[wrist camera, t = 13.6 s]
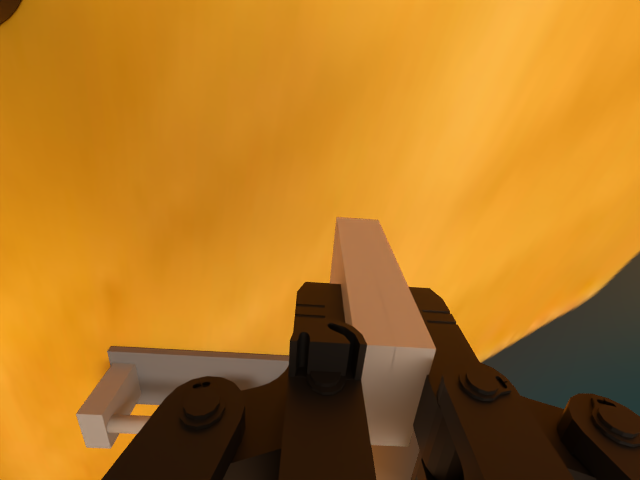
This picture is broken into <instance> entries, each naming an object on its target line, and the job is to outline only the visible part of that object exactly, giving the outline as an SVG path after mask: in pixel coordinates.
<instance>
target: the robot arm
mask: <svg viewBox="0 0 640 480" xmlns="http://www.w3.org/2000/svg"><path fill="white" fill-rule="evenodd" d="M20 1H21V0H0V24H1V23H2V22H4V21H5V20H6V19H7V18H9V17H10V16H11V14H12V13H13V12H14V11H15V9H16V8H17V6H18V5H19V3H20ZM413 430H414V431H415V434H416V438H417V441H418V445H419V449H420V451H419V454H418V457H417V461H416V464H415V467H414V471H413V474H412V477H411V480H640V416H638V415H637V414H635V413H634V412H632V411H631V410H630V409H628V408H627V407H625V406H623V405H621V404H619V403H617V402H615V401H612V400H610V399H609V398H605V397H602V396H598V395H595V394H577V395H575V396H573V397H571V398H570V400H569V401H568V403H567V405H566V407H565V409H561V408H558V407H555V406H551V405H548V404H544V403H541V402H538V401H535V400H532V399H528V398H525V397H522V396H520V395H519V393H518V392H517V390H516V389H515V387H514V386H513V385H512V384H511V383H510V381H509V380H508V379H507V378H506V377H505V376H503V375H502V374H501V373H499V372H498V371H496V370H495V369H494V368H492V367H489V366H487V365H485V364H482V363H480V362H479V361H478V359H477V357H476V355H475V354H474V352H473V350H472V349H471V347H470V345H469V343H468V342H467V340H466V338H465V337H464V335H463V333H462V331H461V330H460V328H459V326H458V325H456V321H455V319H454V318H453V316H452V314H450V311H449V309H448V307H447V306H446V304H445V302H444V301H443V299H442V298H441V297H439V296H438V295H437V294H436V293H435V292H433V291H432V290H431V289H430V288H416V287H408V285H407V283H406V281H405V278H404V276H403V274H402V272H401V269H400V267H399V265H398V263H397V261H396V258H395V256H394V254H393V252H392V249H391V247H390V245H389V243H388V241H387V238H386V236H385V234H384V232H383V229H382V227H381V225H380V223H379V221H378V220H371V219H357V218H343V217H337V219H336V228H335V238H334V248H333V257H332V267H331V276H330V283H315V282H305V283H304V284H303V286H302V287H301V288H300V289H299V290H298V291H297V299H296V310H295V321H294V331H293V335H292V337H291V340H290V352H289V365H288V367H287V369H286V370H285V372H284V373H282V374H281V375H280V376H279V377H278V378H277V379H275V380H273V381H272V382H270V383H268V384H265V385H262V386H259V387H255V388H250V389H246V390H240V389H239V388H238V386H237V385H236V384H235V383H234V382H232V381H230V380H227V379H225V378H223V377H214V376H205V377H201V378H196V379H192V380H190V381H188V382H186V383H184V384H182V385H180V386H178V387H177V388H176V389H175V390H174V391H173V392H171V393H170V394H169V395H168V396H167V397H166V398H165V399H164V401H163V402H162V403H161V404H160V406H159V407H158V408H157V410H156V411H155V412H154V413H153V415H152V416H151V417H150V418H149V420H148V421H147V422H146V423H145V425H144V426H143V427H142V429H141V430H140V431H139V432H138V434H137V435H136V436H135V437H134V439H133V440H132V441H131V443H130V444H129V445H128V446H127V448H126V449H125V450H124V451H123V453H122V454H121V455H120V457H119V458H118V459H117V460H116V462H115V463H114V464H113V465H112V467H111V468H110V469H109V471H108V472H107V473H106V474H105V476H104V477H103V478H102V479H101V480H376V475H375V468H374V461H373V455H372V448H371V445H388V446H409V444H410V441H411V437H412V434H413Z"/></svg>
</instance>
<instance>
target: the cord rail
mask: <svg viewBox="0 0 640 480" xmlns="http://www.w3.org/2000/svg"><path fill="white" fill-rule="evenodd" d="M107 352H108V356H109V361H110V365H111V367H110V368H109V369H108V371H107V372H106V374H105V375H104V376H103V378H102V379H101V380H100V382H99V383H98V385H97V386H96V387H95V389H94V390H93V391H92V393H91V394H90V395H89V397H88V398H87V400H86V401H85V402H84V404H83V405H82V406H81V408H80V409H79V411H78V412H77V413H76V416H77V419H78V422H79V425H80V428H81V432H82V435H83V438H84V441H85V445H86V447H89V448H111V447H112V445H113V444H114V442H115V440H116V438H117V437H118V435H119V433H131V434H138V432H139V431H140V430H141V429H142V427H143V426H144V425H145V423H146V422H147V421H148V420H149V418H150V417H151V416H137V415H130V414H131V412H132V410H133V408H134V407H135V405H136V404H150V405H160V404H161V403H162V402H163V401H164V399H165V398H166V397H167V396H168V395H169V394H170V393H171V392H173V391H174V390H175V389H176V388H177V387H178V386H180V385H182V384H184V383H186V382H188V381H190V380H192V379H196V378H201V377H205V376H214V377H223V378H225V379H227V380H230V381H232V382H234V383H235V384H236V385H237V386H238V388H239V389H240V390H246V389H250V388H255V387H259V386H262V385H265V384H268V383H270V382H272V381H273V380H275V379H277V378H278V377H279V376H280V375H281V374H282V373H284V372H285V370H286V369H287V367H288V365H289V356H284V355H266V354H247V353H228V352H210V351H191V350H172V349H154V348H135V347H116V346H111V347H110V349H109V350H108V351H107Z"/></svg>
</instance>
